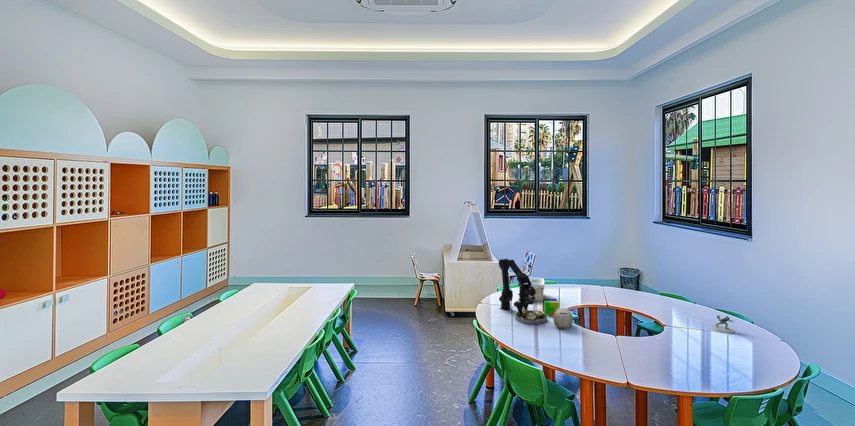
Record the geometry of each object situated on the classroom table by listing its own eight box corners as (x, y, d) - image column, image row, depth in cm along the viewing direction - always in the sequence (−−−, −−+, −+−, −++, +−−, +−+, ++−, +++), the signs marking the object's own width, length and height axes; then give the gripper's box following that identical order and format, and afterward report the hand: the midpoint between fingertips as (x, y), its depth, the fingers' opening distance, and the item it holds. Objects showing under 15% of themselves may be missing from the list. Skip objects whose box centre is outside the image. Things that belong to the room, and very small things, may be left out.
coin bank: (564, 319, 280) (565, 302, 277) (580, 330, 264) (581, 312, 261) (545, 323, 275) (546, 305, 273) (560, 334, 259) (561, 316, 257)
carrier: (509, 319, 282) (509, 313, 281) (524, 311, 298) (524, 305, 298) (538, 326, 267) (538, 319, 267) (551, 318, 284) (551, 311, 284)
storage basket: (525, 292, 350) (525, 276, 349) (544, 294, 345) (544, 277, 344) (524, 300, 327) (524, 283, 326) (544, 302, 322) (544, 284, 321)
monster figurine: (724, 334, 251) (725, 318, 250) (707, 327, 262) (707, 312, 261) (738, 332, 254) (739, 317, 253) (720, 325, 265) (721, 311, 265)
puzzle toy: (555, 311, 299) (555, 298, 298) (558, 315, 289) (559, 302, 288) (542, 311, 300) (542, 298, 299) (545, 315, 290) (545, 302, 289)
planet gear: (516, 314, 286) (516, 310, 286) (521, 312, 292) (521, 307, 292) (525, 317, 282) (525, 312, 281) (530, 314, 287) (530, 309, 287)
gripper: (527, 297, 273) (527, 319, 274) (539, 291, 287) (539, 312, 288) (513, 294, 280) (513, 315, 282) (525, 289, 294) (525, 309, 296)
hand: (523, 313), depth 287 cm, fingers closed on planet gear, 7 cm apart
